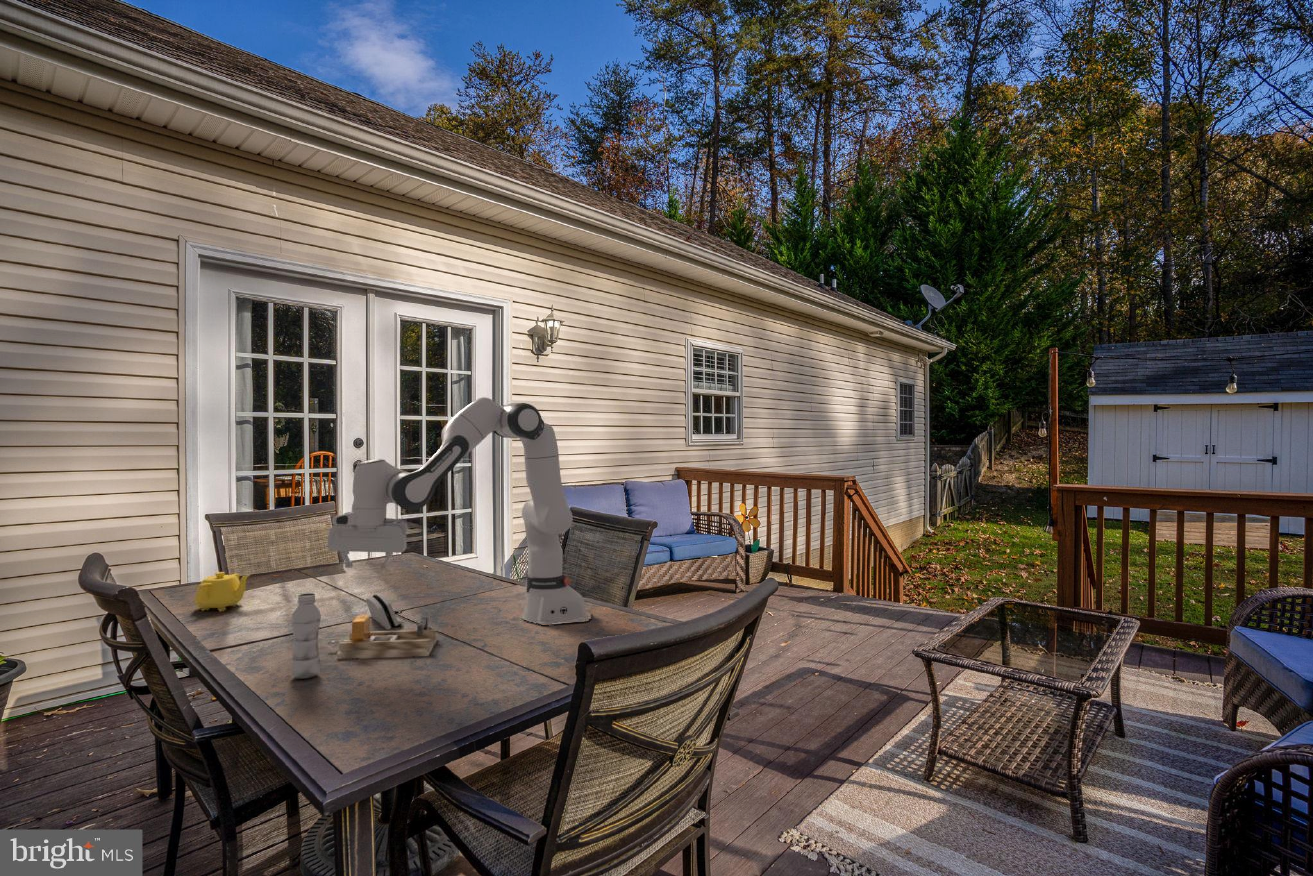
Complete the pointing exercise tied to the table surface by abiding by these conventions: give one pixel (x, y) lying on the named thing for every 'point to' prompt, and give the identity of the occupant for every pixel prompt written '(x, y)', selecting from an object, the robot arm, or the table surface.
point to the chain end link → (364, 632)
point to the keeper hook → (422, 626)
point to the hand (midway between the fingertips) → (366, 567)
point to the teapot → (220, 591)
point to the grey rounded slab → (382, 611)
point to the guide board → (390, 645)
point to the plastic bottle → (305, 638)
